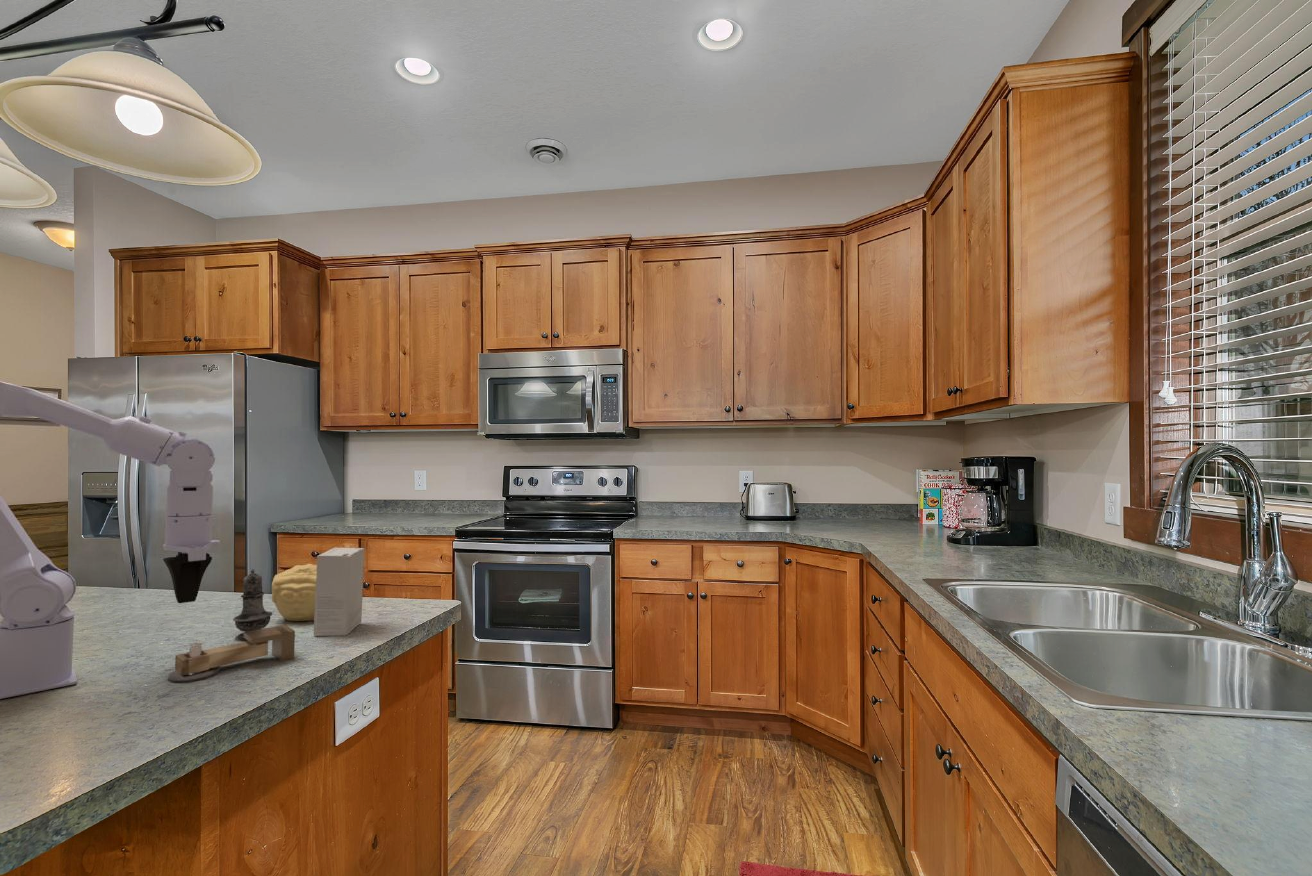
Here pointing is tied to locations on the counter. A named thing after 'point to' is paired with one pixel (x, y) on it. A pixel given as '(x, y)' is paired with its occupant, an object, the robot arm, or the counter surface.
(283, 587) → the sculpture
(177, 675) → the pintle base
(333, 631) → the skincare box
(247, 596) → the dark grey tall piece
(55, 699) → the counter surface
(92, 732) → the counter surface
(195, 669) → the link
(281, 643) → the keeper
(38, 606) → the robot arm
